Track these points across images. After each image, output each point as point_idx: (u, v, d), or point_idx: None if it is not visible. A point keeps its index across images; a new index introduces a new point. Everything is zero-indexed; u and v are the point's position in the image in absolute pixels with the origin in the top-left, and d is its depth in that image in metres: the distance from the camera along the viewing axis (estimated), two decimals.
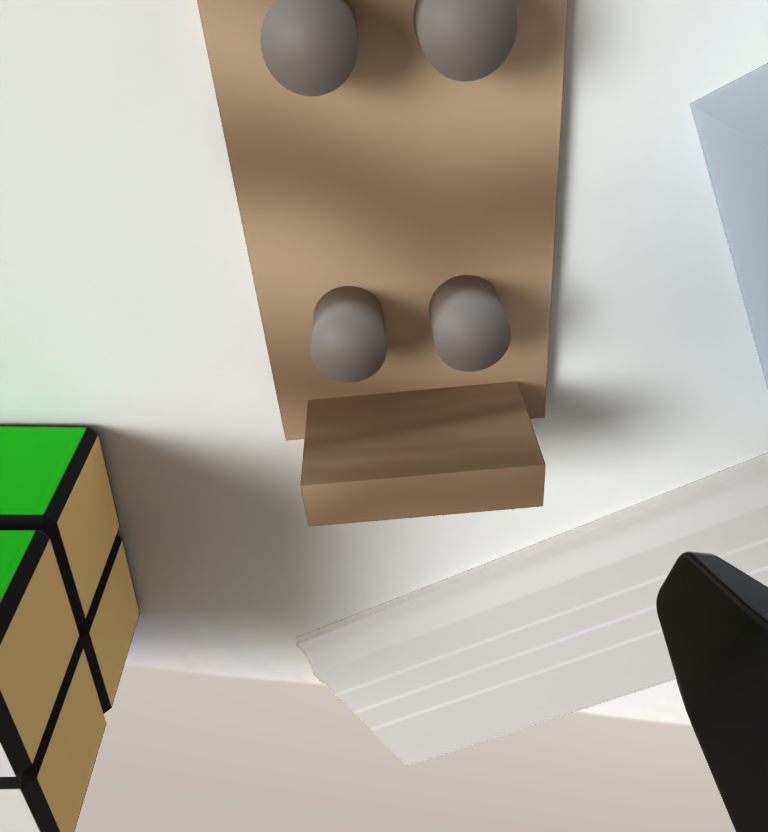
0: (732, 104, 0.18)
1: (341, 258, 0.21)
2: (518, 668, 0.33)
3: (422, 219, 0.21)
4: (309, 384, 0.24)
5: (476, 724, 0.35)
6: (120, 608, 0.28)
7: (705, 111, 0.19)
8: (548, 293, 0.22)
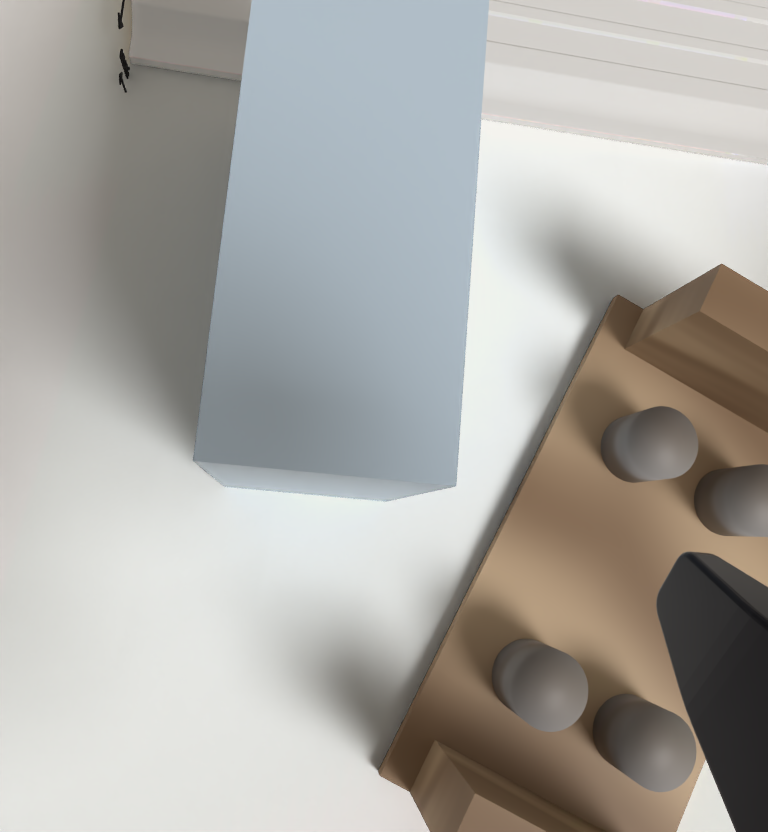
0: (375, 498, 0.21)
1: None
2: None
3: (625, 545, 0.23)
4: None
5: None
6: None
7: (390, 500, 0.22)
8: (561, 415, 0.24)
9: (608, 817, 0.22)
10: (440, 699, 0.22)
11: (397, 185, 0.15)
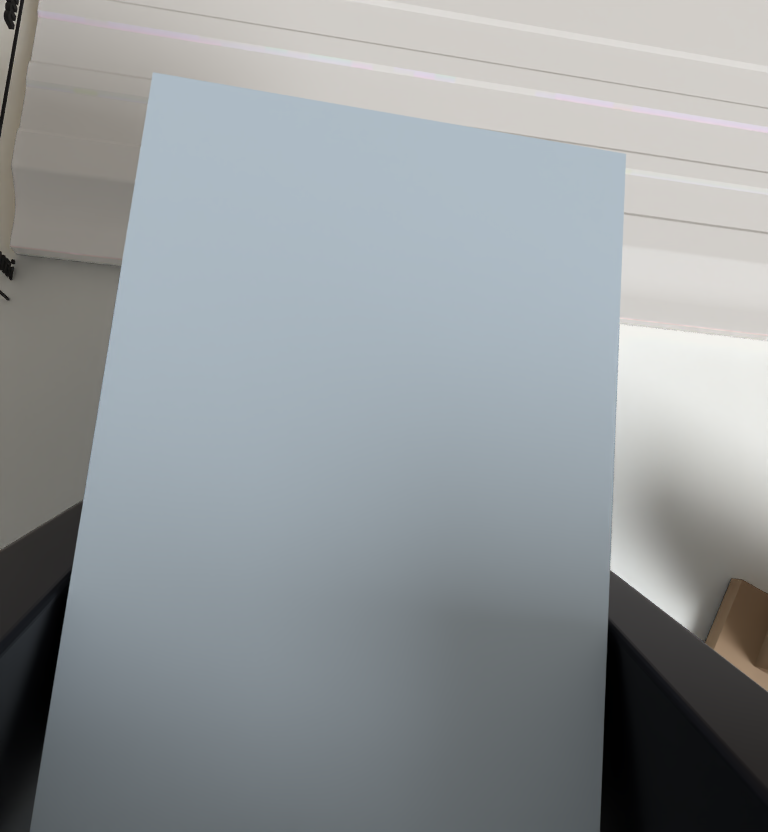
0: None
1: None
2: None
3: None
4: None
5: None
6: None
7: None
8: None
9: None
10: None
11: (432, 729, 0.07)
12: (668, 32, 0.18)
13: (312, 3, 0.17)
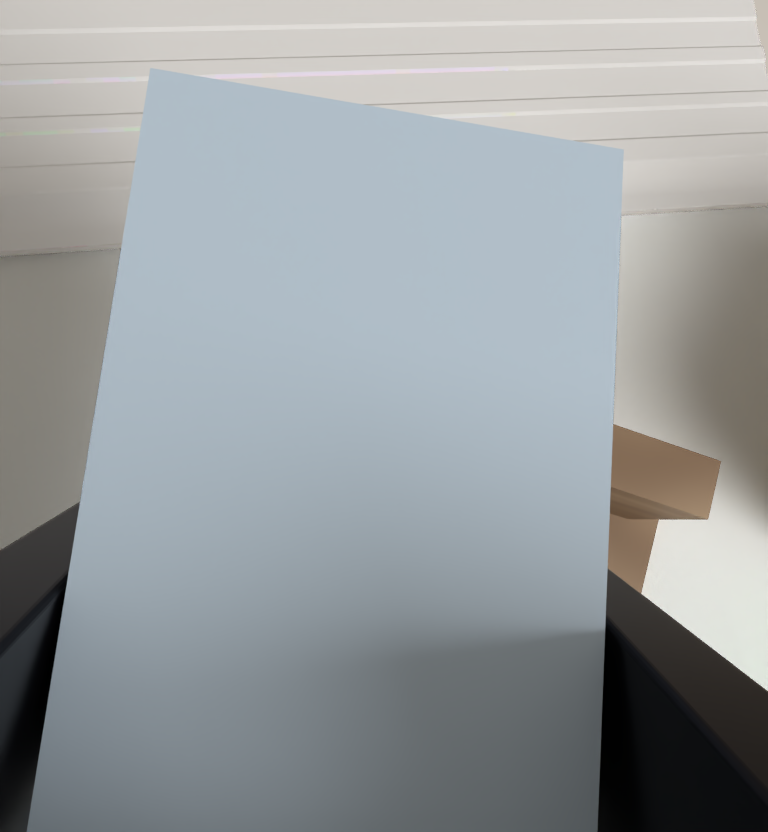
0: None
1: None
2: (550, 40, 0.25)
3: None
4: (619, 536, 0.23)
5: None
6: None
7: None
8: None
9: None
10: None
11: (429, 723, 0.07)
12: (298, 11, 0.24)
13: (16, 41, 0.22)
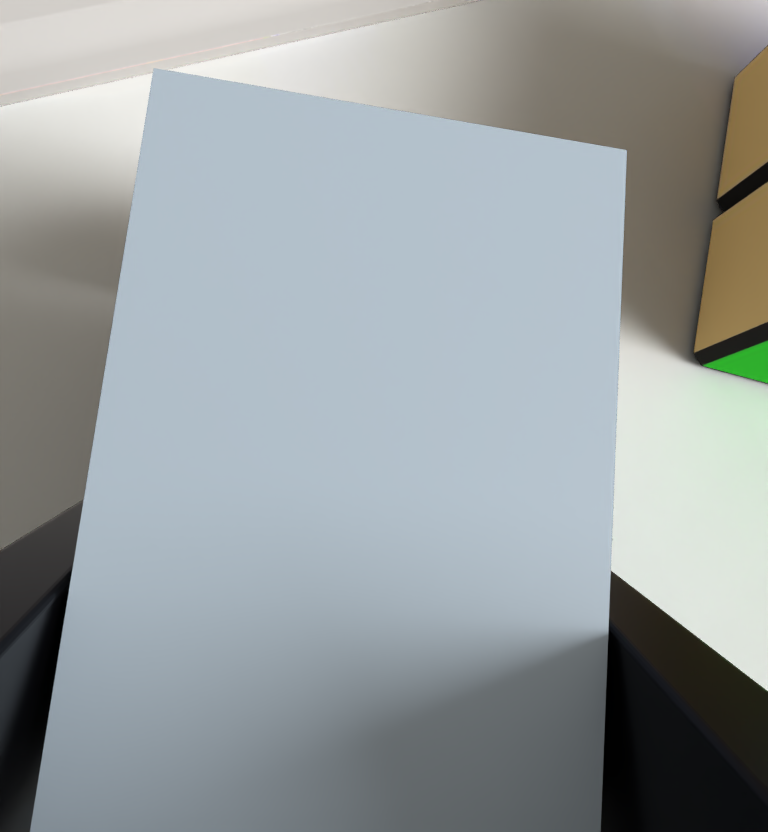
0: None
1: None
2: None
3: None
4: None
5: None
6: (758, 111, 0.21)
7: None
8: None
9: None
10: None
11: (433, 724, 0.07)
12: None
13: None
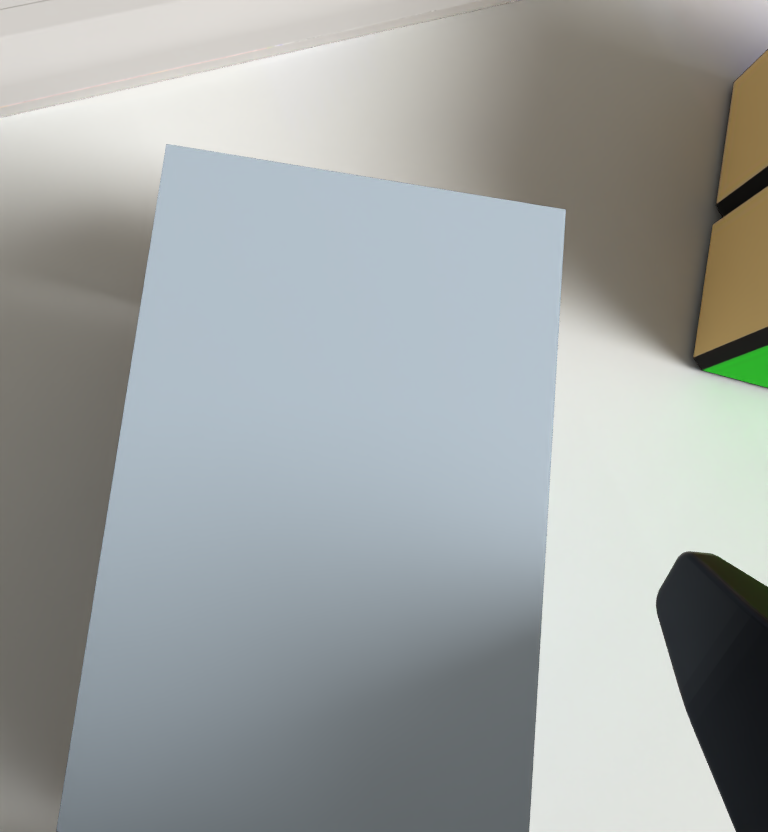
0: None
1: None
2: None
3: None
4: None
5: None
6: (758, 116, 0.21)
7: None
8: None
9: None
10: None
11: (393, 691, 0.08)
12: None
13: None
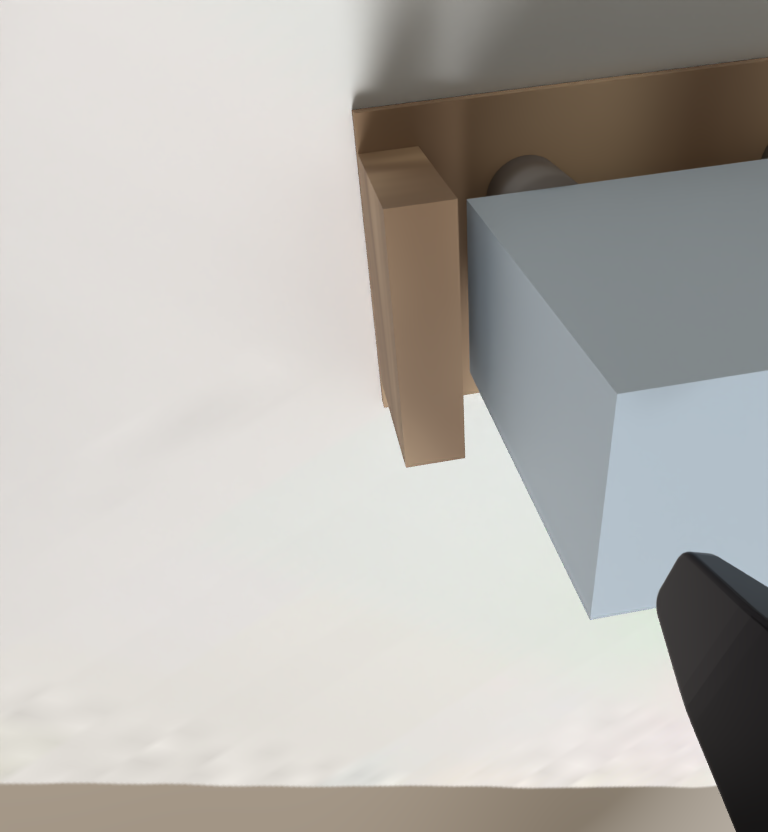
0: (483, 383, 0.19)
1: None
2: None
3: None
4: None
5: None
6: None
7: (479, 391, 0.20)
8: None
9: None
10: (458, 125, 0.19)
11: None
12: None
13: None
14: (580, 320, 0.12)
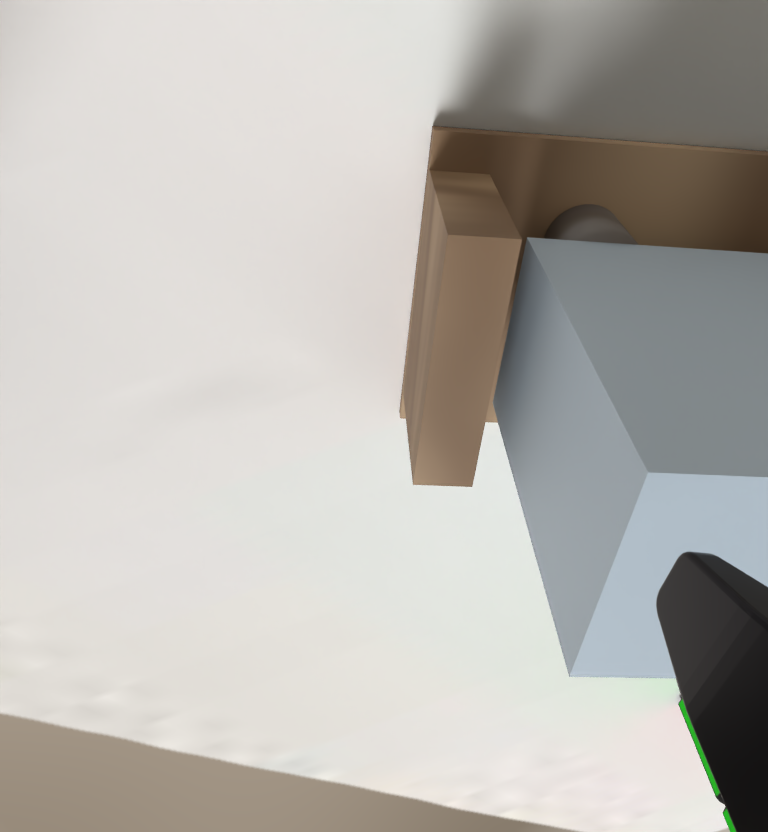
0: (505, 417, 0.19)
1: None
2: None
3: None
4: None
5: None
6: None
7: (499, 424, 0.20)
8: None
9: None
10: (533, 162, 0.19)
11: None
12: None
13: None
14: (622, 388, 0.13)
